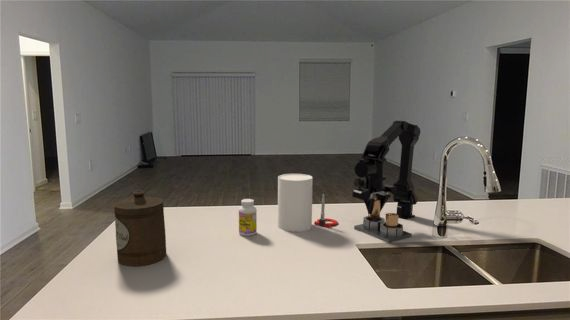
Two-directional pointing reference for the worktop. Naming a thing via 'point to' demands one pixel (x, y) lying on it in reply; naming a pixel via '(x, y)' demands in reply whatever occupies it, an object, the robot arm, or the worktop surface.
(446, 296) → the worktop surface
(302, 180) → the canister
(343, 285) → the worktop surface
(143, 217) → the wooden container
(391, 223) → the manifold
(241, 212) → the supplement bottle
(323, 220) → the tow hook
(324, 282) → the worktop surface
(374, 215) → the brass peg
